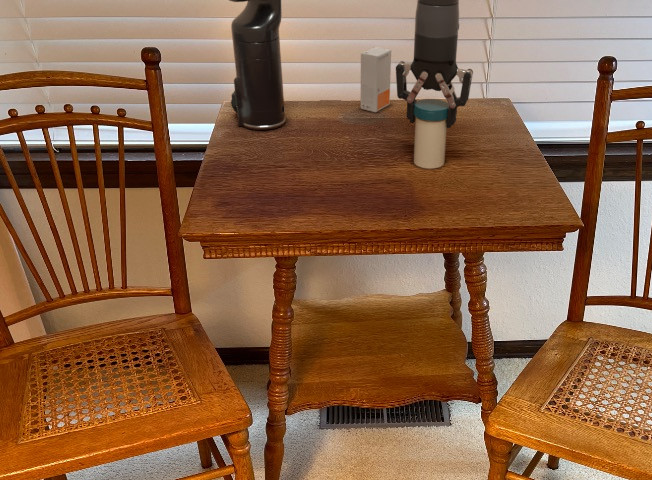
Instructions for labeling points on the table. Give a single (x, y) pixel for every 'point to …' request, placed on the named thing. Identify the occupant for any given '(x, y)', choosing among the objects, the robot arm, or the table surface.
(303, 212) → the table surface
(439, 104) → the jam lid
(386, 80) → the cosmetic box
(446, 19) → the robot arm
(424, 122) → the white jar
